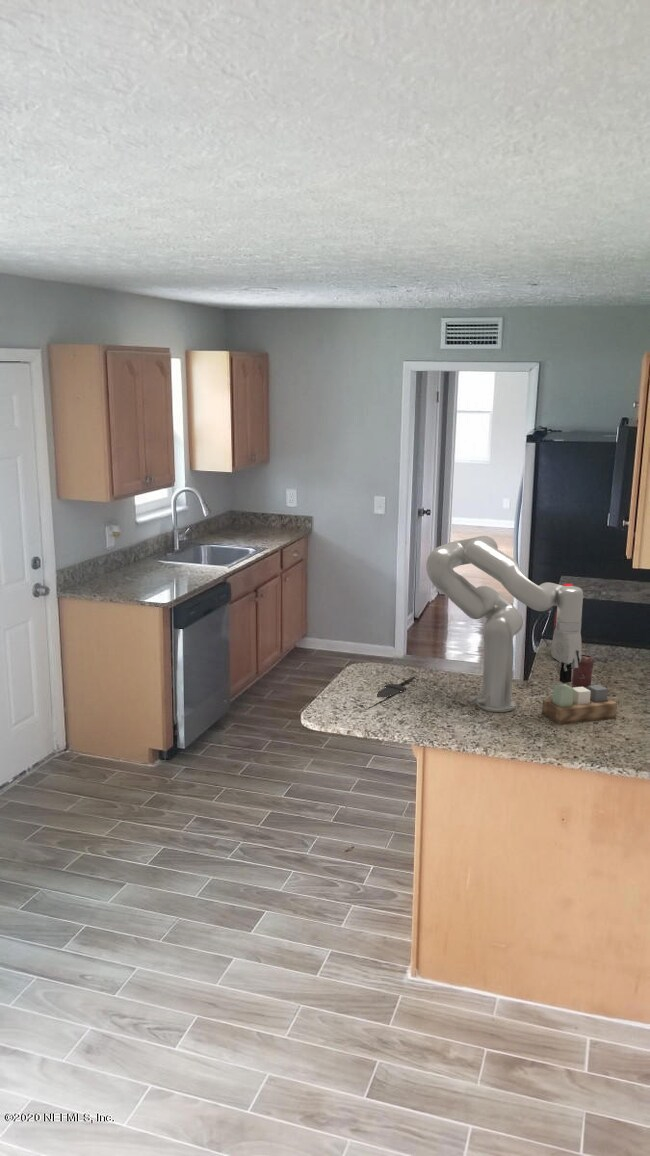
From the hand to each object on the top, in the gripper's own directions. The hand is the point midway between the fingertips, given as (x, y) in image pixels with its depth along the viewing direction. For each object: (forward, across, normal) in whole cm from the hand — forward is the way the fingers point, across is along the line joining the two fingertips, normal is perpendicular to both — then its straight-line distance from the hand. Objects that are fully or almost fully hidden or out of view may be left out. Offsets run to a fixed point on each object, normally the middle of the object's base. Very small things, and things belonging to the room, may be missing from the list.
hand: (565, 681), depth 278 cm
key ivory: (+10, 0, +6) cm, 12 cm away
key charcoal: (+10, 0, +13) cm, 16 cm away
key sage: (+9, 0, 0) cm, 9 cm away
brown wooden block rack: (+12, 0, +6) cm, 14 cm away
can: (+12, -16, +18) cm, 27 cm away
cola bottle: (+12, -54, +36) cm, 66 cm away
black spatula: (+12, -38, -44) cm, 60 cm away
